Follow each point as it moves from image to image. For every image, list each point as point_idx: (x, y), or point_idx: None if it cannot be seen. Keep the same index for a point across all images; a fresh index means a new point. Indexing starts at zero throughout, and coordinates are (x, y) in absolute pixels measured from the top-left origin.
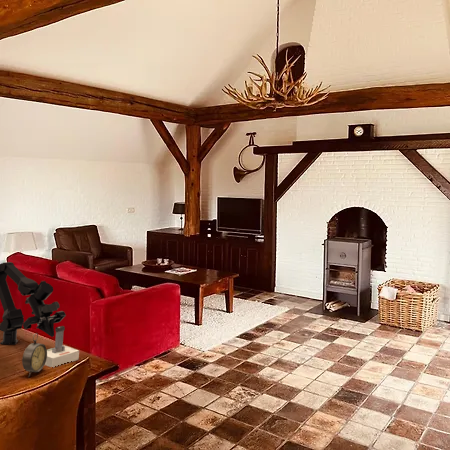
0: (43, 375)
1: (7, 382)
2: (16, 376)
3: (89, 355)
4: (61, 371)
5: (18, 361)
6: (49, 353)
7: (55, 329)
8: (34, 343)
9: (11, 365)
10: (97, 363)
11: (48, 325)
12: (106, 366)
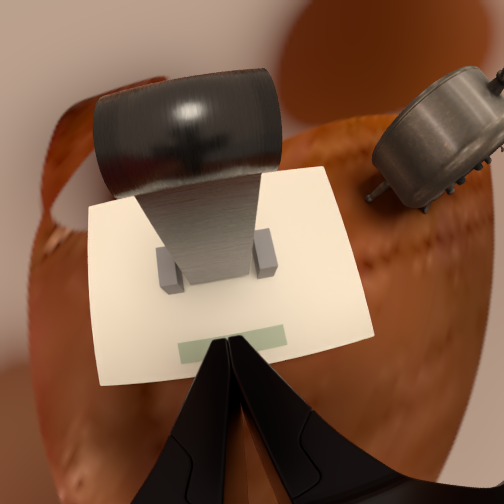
0: None
1: (485, 175)
2: (464, 202)
3: (34, 260)
4: (288, 138)
5: (422, 389)
6: (302, 262)
7: (278, 158)
8: (497, 86)
9: (462, 342)
10: (89, 144)
11: (311, 481)
12: (94, 106)
